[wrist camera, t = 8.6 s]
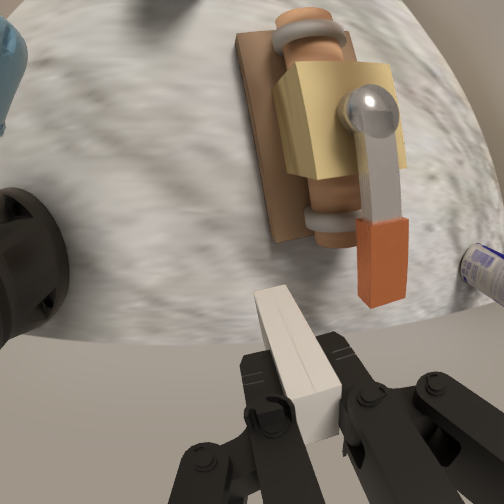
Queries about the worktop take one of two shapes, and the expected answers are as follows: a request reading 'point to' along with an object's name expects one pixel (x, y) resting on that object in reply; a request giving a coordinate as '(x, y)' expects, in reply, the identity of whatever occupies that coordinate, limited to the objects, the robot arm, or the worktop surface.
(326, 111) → the valve manifold
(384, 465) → the robot arm
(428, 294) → the worktop surface
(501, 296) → the beverage can
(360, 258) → the valve lever
